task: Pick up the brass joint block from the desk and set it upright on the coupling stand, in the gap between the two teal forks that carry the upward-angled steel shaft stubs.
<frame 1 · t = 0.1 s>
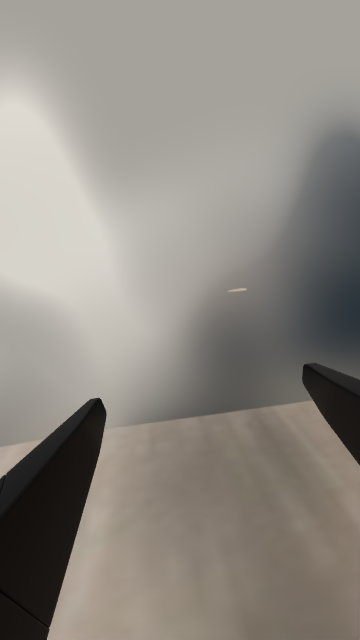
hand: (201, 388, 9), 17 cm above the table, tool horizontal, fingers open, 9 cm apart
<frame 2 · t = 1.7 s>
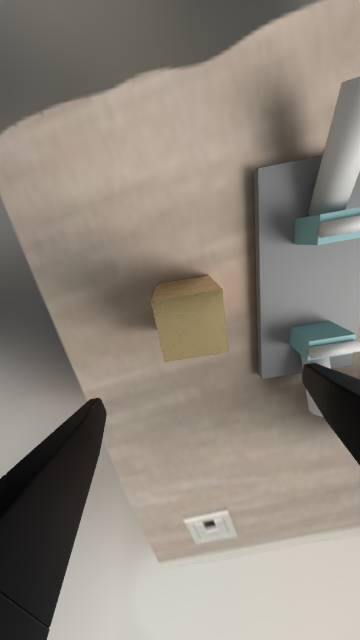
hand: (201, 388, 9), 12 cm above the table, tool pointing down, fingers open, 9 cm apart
joint block: (186, 303, 20), on the table
coupling stand: (307, 283, 19), on the table
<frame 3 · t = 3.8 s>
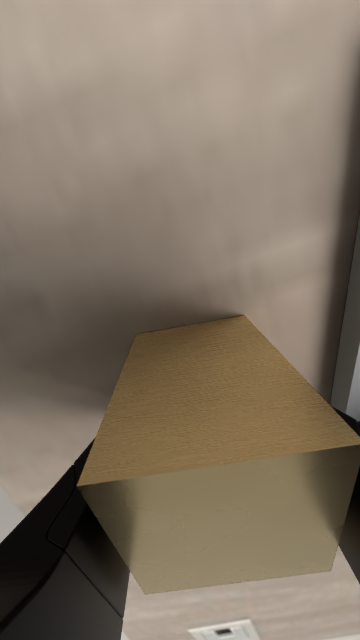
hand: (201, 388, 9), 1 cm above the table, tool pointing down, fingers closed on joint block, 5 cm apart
joint block: (197, 369, 10), on the table, touching gripper
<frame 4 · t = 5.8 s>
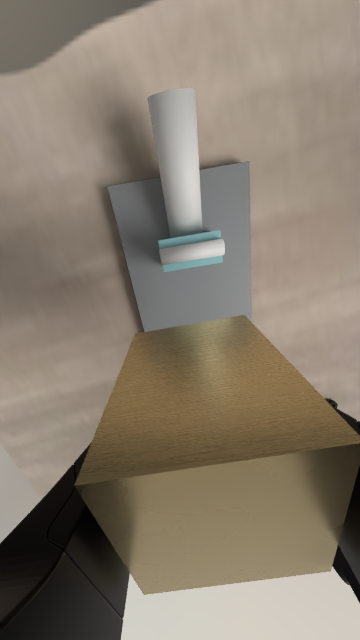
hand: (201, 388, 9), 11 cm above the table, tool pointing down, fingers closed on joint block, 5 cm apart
joint block: (197, 369, 10), point 9 cm above the table, touching gripper
coupling stand: (194, 304, 18), on the table
when the fingers open (4 cm above the table, at t = 8.0 s): joint block drops 1 cm, resting on coupling stand.
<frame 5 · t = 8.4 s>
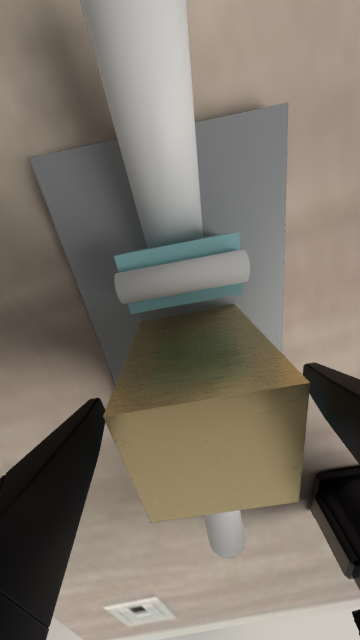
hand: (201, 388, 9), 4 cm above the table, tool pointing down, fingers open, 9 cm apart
joint block: (194, 353, 11), point 1 cm above the table, touching coupling stand
coupling stand: (192, 345, 12), on the table
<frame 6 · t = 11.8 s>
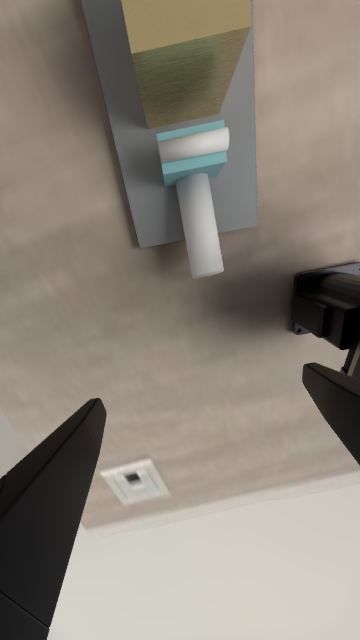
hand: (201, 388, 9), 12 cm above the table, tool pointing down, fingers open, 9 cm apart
joint block: (176, 71, 13), point 1 cm above the table, touching coupling stand
coupling stand: (176, 83, 14), on the table
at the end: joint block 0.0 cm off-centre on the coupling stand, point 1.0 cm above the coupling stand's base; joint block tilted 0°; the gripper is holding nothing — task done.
